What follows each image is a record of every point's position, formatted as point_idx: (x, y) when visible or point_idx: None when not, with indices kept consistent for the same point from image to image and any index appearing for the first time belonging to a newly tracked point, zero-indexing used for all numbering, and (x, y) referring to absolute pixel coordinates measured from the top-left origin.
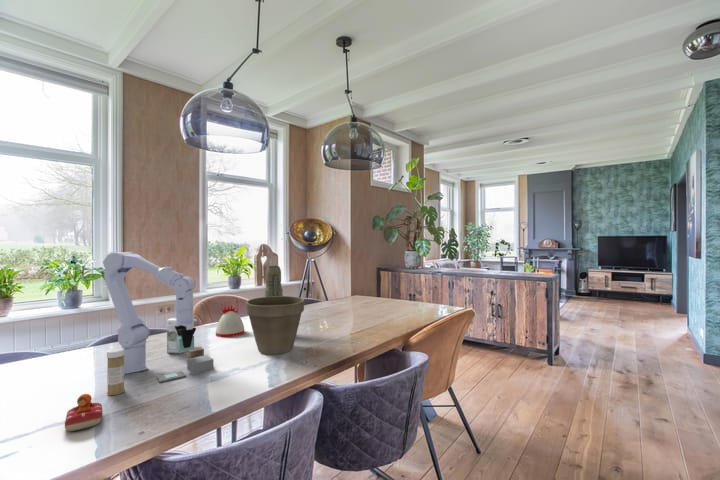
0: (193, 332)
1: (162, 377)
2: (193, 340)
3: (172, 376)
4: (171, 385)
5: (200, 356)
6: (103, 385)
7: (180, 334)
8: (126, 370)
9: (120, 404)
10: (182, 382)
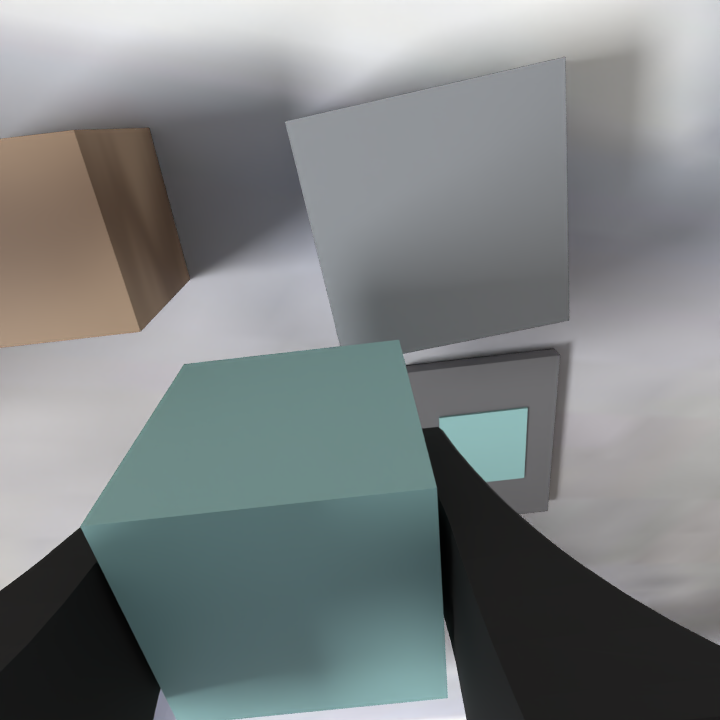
0: (663, 635)
1: None
2: (420, 437)
3: (514, 442)
4: (652, 443)
5: (313, 210)
6: None
7: (138, 698)
8: None
9: (716, 634)
10: (655, 377)
